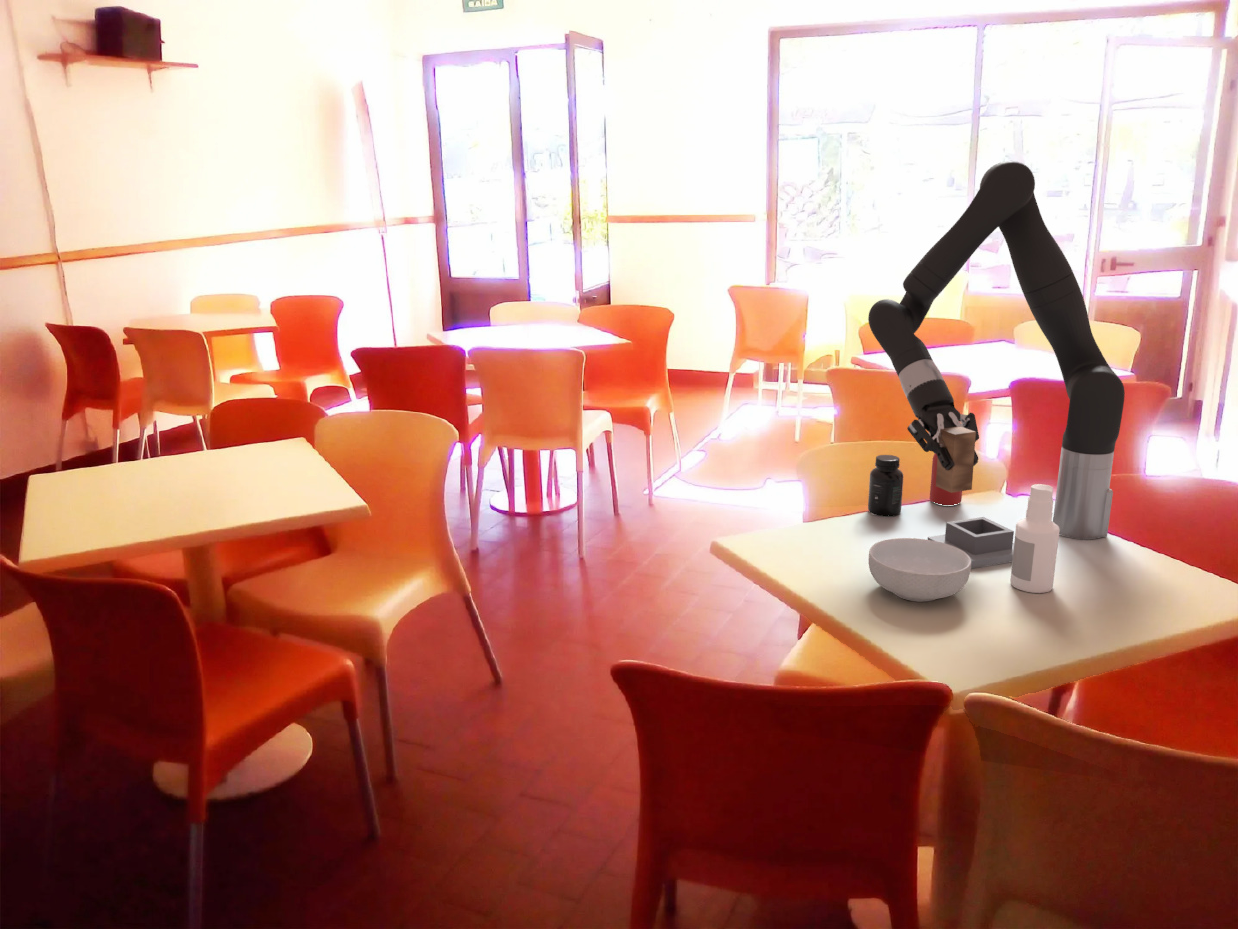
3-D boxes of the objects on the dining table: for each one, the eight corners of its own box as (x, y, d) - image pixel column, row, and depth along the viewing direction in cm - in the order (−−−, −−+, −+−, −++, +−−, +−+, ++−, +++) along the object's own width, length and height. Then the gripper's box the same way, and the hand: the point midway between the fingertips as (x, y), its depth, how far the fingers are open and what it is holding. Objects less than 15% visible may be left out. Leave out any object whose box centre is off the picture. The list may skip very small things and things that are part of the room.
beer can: (923, 499, 211) (927, 447, 208) (948, 496, 213) (953, 444, 210) (941, 508, 205) (945, 454, 202) (967, 505, 207) (972, 451, 204)
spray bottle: (1020, 574, 171) (1030, 478, 166) (1059, 585, 166) (1071, 486, 161) (1003, 586, 166) (1013, 487, 161) (1042, 597, 162) (1054, 496, 156)
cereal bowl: (970, 618, 154) (974, 578, 152) (864, 607, 159) (866, 568, 157) (966, 578, 170) (969, 541, 168) (869, 569, 175) (871, 532, 173)
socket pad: (983, 535, 190) (985, 511, 188) (1029, 559, 178) (1032, 533, 176) (927, 544, 186) (929, 520, 184) (970, 568, 174) (973, 543, 172)
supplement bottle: (860, 510, 205) (863, 456, 202) (884, 504, 209) (887, 451, 205) (884, 519, 200) (887, 464, 196) (907, 513, 203) (911, 458, 200)
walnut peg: (956, 482, 180) (959, 426, 177) (971, 489, 176) (975, 431, 173) (935, 486, 179) (939, 429, 176) (951, 492, 175) (954, 434, 172)
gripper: (902, 381, 177) (939, 460, 169) (966, 374, 181) (1006, 451, 174) (884, 403, 183) (919, 481, 176) (947, 396, 188) (984, 471, 180)
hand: (962, 465), depth 175 cm, fingers closed on walnut peg, 4 cm apart
